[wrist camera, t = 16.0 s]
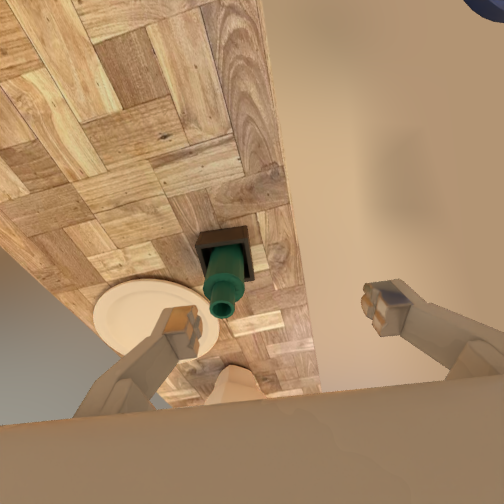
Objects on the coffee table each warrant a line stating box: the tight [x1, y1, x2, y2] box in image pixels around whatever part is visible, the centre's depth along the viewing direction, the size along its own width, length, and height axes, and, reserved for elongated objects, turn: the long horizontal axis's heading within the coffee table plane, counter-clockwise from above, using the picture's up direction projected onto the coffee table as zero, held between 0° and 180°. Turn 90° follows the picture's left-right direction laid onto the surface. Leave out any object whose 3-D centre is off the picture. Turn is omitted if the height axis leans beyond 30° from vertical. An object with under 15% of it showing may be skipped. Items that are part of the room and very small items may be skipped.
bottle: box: [203, 243, 245, 319], centre depth 33 cm, size 6×6×16 cm
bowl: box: [204, 365, 267, 405], centre depth 55 cm, size 19×19×14 cm
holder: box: [195, 226, 255, 282], centre depth 38 cm, size 9×9×6 cm
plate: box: [93, 279, 220, 364], centre depth 48 cm, size 28×28×2 cm
